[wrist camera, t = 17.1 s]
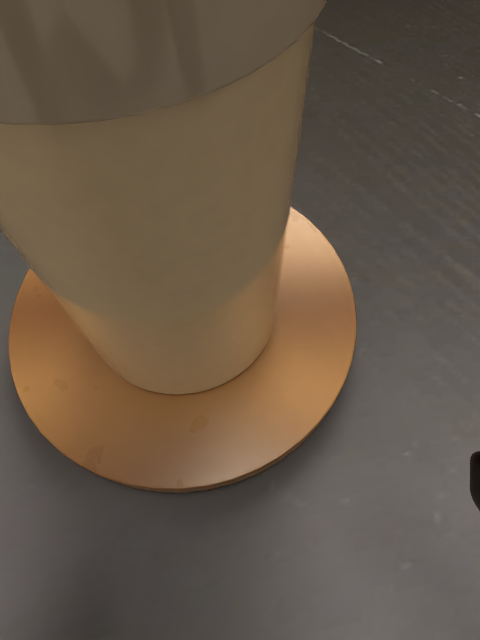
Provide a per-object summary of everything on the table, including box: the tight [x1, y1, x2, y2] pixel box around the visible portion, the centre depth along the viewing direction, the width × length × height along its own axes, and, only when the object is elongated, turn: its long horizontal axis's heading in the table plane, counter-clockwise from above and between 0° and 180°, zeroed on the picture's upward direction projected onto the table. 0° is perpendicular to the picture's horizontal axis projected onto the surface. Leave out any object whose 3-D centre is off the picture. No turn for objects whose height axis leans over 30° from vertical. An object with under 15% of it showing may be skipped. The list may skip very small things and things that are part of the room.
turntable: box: [9, 207, 357, 493], centre depth 17 cm, size 13×13×1 cm
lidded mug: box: [0, 0, 327, 394], centre depth 11 cm, size 10×7×12 cm
